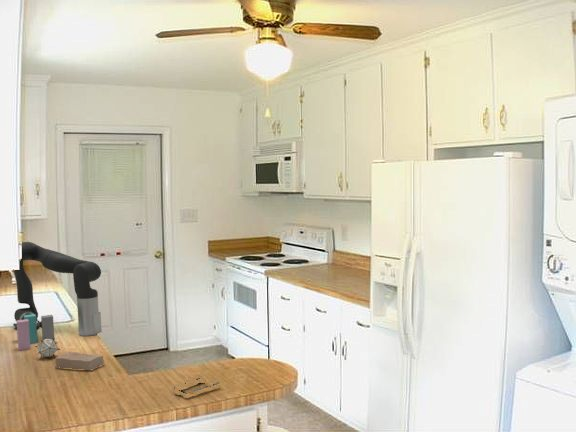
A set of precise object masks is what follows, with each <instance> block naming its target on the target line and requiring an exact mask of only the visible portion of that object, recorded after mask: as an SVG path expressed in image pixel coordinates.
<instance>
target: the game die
mask: <svg viewBox="0 0 576 432" xmlns="http://www.w3.org/2000/svg"><path fill="white" fill-rule="evenodd" d="M55 339H56V338H55V337H54V339H46V337H45V339H44V340H43V339H41V340H40V342H39V344H38V345H35V346H34V347H35V348H37V350H38V353H37V354H38V355H40V359H42V358H43V357H44V358H48V359H49V360H51V357H52V356H55V353H56V352H57V351H60V350H61V349H60V348H59V347H58V346H57V344H58V342H56V340H55ZM54 340H55V341H54Z"/></svg>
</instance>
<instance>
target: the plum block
mask: <svg viewBox="0 0 576 432" xmlns="http://www.w3.org/2000/svg"><path fill="white" fill-rule="evenodd" d="M16 324H17V331H16V332H17V333H16V334H17V347H18V351H24V350H30V349H31V343H30V335H29V321H28V319H25V320H17V322H16Z"/></svg>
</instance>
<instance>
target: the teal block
mask: <svg viewBox="0 0 576 432" xmlns="http://www.w3.org/2000/svg"><path fill="white" fill-rule="evenodd" d="M25 319H28V321H29V335H30V344H36V343H38V330H36V315H35V314H31V315H24V320H25Z"/></svg>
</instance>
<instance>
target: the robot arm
mask: <svg viewBox="0 0 576 432" xmlns="http://www.w3.org/2000/svg"><path fill="white" fill-rule="evenodd" d="M21 242H22V241H21ZM24 261H35V262H39V263H41V266H43V267H44V268H45V269H46V270H49V271H52V272H56V273H61V274H72V275H73V276H72V277H73V278H72V279H73V285H74V286H73V287H74V292H75V295H76V302H77V303H76V305H77V320H78V321H77V322H78V326H77V327H78V335H79V336H83V337H87V336H88V337H89V336H96V335H98V334H100V333H103V332H102V330H103V329H102V315H101V314H102V313H101V311H100V310H99V296H98V295H99V292H98V290H97V289H96V288H95V289H94V288H92V287H91V284H90V283H91V282H95V281H97V280H98V279H99V278H100V277H101V275H102V270H101V267H100V266H99V264H98V263H95V262H94V261H88V260H83V259H80V258H79V259H78V258H76V257H73V256H70V255H67V254H64V253H62V252H59V251H55V250H52V249H48V248H45V247H42V246H40V245H38V244H36V243H34V242H31V241H23V242H22V259H21V261H20V270H15V271H14V270H13V273H14V277H15V283H16V294H17V295H16V296H17V302H18V304H23V305H25V304H26V305H28V306H29V307H24V308H18V309H16V310H15V312H14V317H13V318H14V320H15V322H16V323H15V322H14V323H13V324H12V325H13V327H12V328H13V330H14V331H16V332H17V320H24V315H31V314H35V315H36V330H37V331H39V330H40V329H42V322H41V321H40V320H39V319H38V318H39V312H38V309H37V306H36V304H35V301H34V300H35V299H34V291H33V290H34V288H33V283H32V281H31V279H30V278H29V276H28V274H27V273H26V270H25V268H24V267H25V266H24Z"/></svg>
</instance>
